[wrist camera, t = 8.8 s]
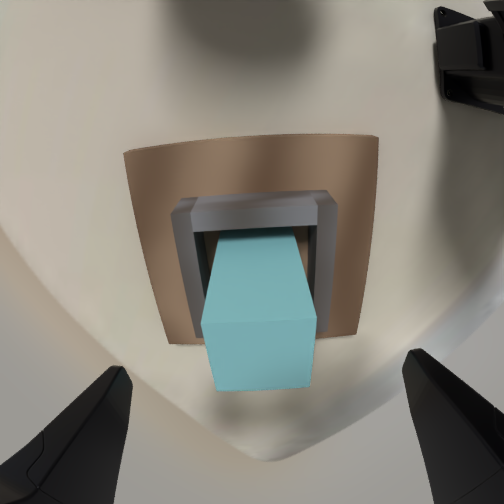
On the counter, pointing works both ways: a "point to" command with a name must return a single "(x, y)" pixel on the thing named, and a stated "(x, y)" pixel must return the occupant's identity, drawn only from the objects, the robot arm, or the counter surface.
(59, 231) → the counter surface
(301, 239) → the well block
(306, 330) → the teal post
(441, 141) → the counter surface
